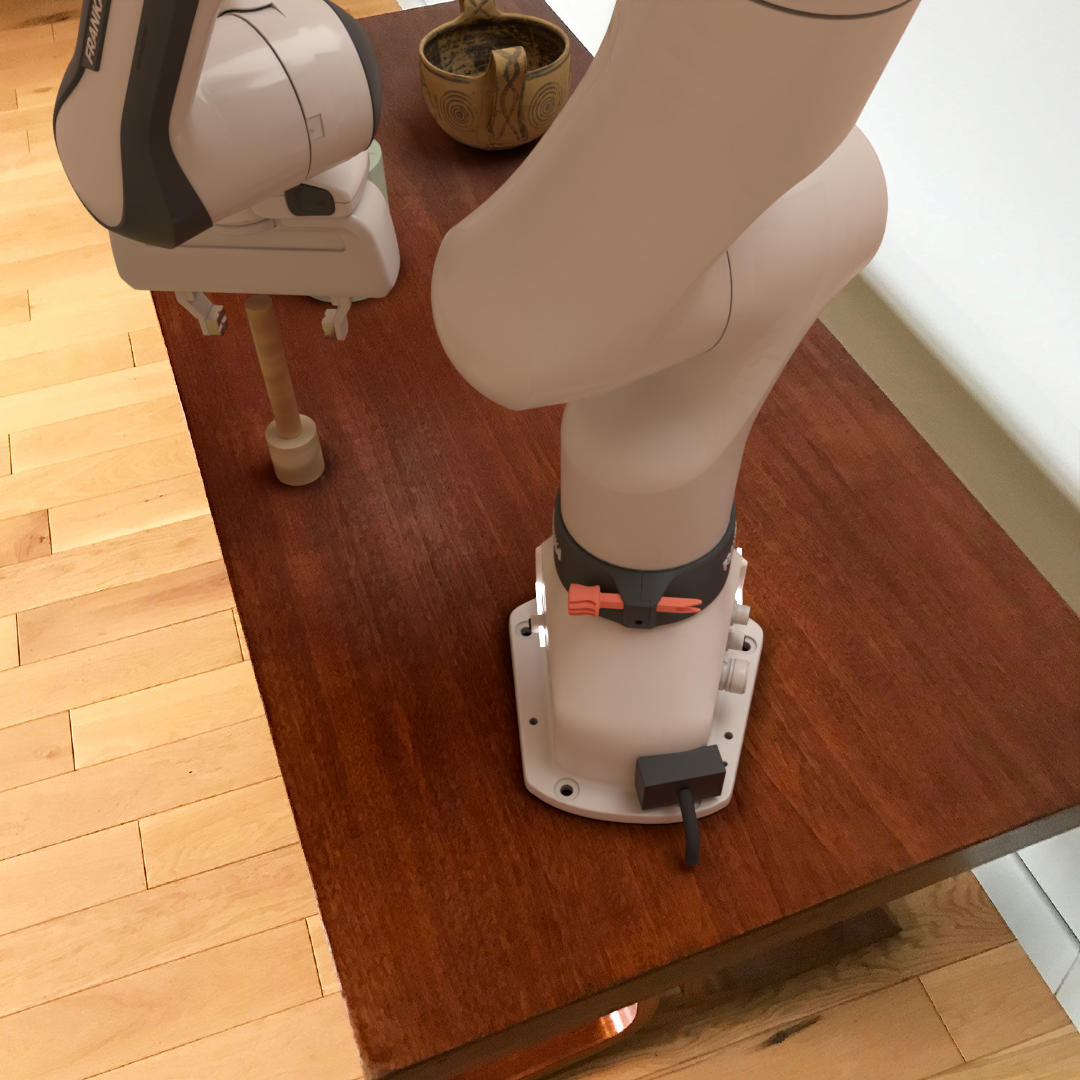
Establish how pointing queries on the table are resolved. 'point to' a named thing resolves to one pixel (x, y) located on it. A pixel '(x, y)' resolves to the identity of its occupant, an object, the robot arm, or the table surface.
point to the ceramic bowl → (495, 75)
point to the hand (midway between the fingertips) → (276, 333)
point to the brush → (283, 402)
